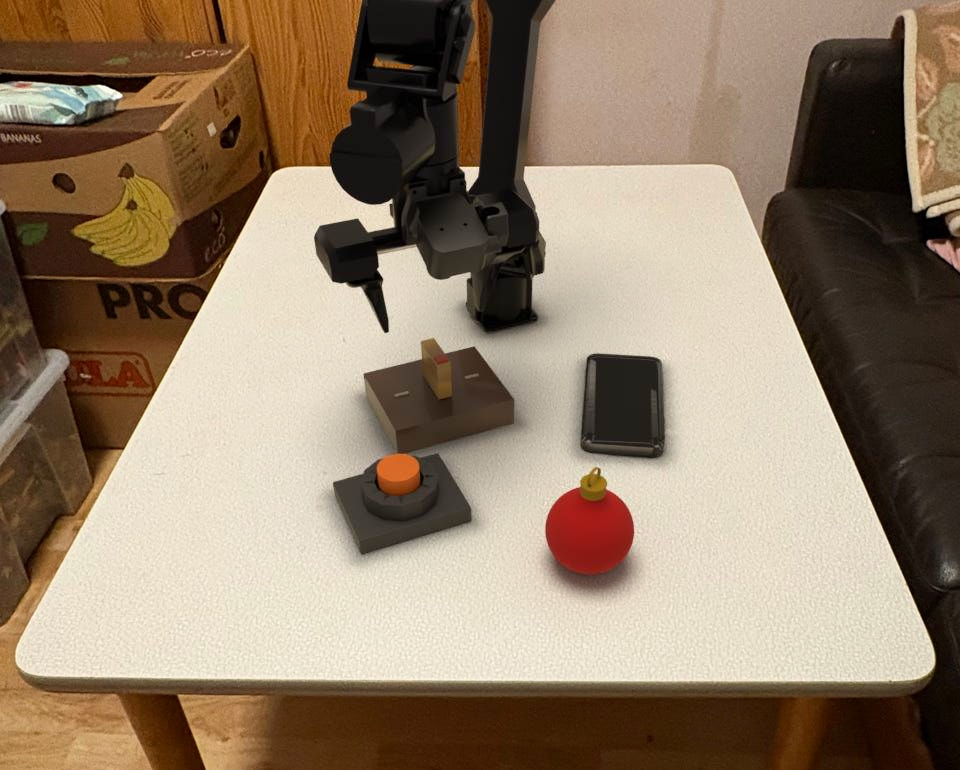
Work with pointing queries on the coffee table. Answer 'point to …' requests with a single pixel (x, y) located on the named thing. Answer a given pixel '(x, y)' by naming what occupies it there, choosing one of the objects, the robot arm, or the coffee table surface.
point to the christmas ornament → (589, 527)
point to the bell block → (401, 506)
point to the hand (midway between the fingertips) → (432, 319)
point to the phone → (623, 405)
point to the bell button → (398, 474)
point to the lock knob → (436, 368)
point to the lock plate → (438, 402)
